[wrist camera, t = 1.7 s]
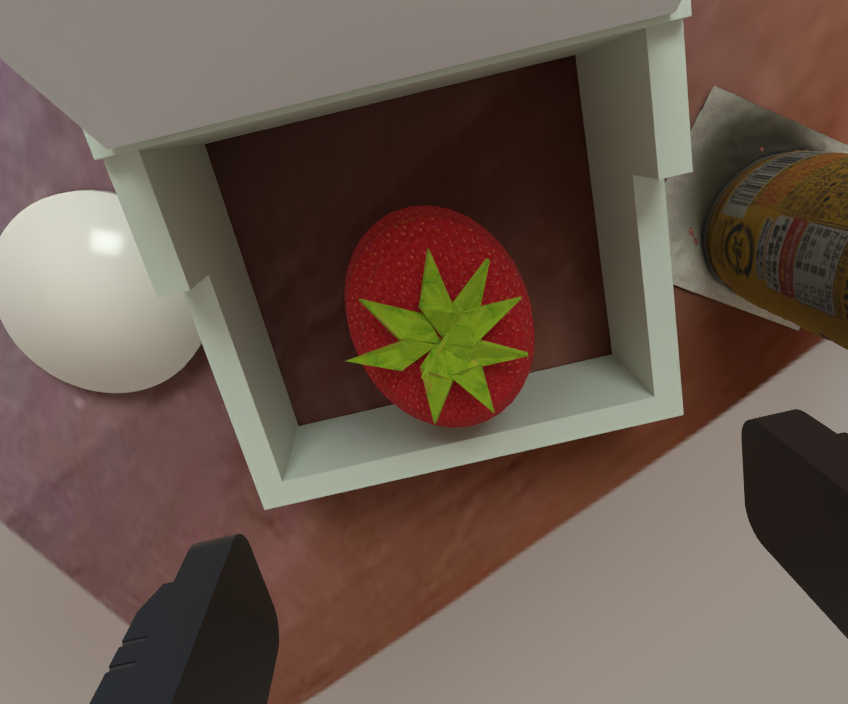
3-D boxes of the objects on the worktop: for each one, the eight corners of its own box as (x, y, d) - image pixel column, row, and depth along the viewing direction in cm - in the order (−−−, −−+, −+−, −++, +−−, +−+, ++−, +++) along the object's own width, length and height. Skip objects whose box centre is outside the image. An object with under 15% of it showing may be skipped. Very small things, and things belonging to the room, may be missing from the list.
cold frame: (104, -62, 20) (-1096, -868, 4) (577, -179, 20) (1476, -1620, 4) (283, 450, 27) (126, 946, 11) (637, 369, 27) (1035, 754, 10)
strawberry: (401, 386, 27) (410, 527, 17) (322, 225, 24) (281, 289, 15) (528, 331, 26) (608, 447, 17) (461, 161, 23) (511, 184, 14)
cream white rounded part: (-35, 216, 23) (-49, 219, 22) (170, 167, 23) (163, 168, 22) (56, 403, 26) (46, 412, 25) (239, 361, 26) (235, 368, 25)
